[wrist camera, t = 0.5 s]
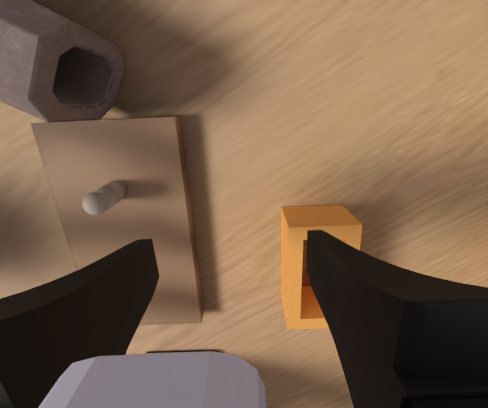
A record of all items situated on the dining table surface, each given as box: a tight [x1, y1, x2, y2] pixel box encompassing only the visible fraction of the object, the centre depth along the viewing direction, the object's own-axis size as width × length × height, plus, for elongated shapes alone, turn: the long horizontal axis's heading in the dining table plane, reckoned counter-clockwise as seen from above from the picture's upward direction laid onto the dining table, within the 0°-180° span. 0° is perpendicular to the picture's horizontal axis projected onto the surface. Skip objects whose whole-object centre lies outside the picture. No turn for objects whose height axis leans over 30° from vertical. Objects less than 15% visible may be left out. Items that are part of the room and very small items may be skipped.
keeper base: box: [31, 116, 204, 325], centre depth 20 cm, size 18×10×5 cm, turn 3°
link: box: [281, 205, 363, 329], centre depth 21 cm, size 9×5×4 cm, turn 3°
